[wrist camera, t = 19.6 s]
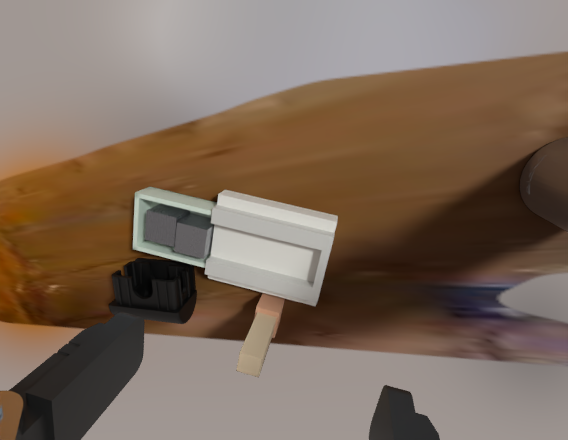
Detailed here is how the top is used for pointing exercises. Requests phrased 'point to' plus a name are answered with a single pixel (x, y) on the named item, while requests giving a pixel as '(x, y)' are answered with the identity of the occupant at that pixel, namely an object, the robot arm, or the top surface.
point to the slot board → (270, 246)
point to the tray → (156, 196)
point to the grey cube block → (194, 236)
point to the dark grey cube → (163, 223)
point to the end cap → (155, 290)
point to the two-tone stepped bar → (260, 334)
